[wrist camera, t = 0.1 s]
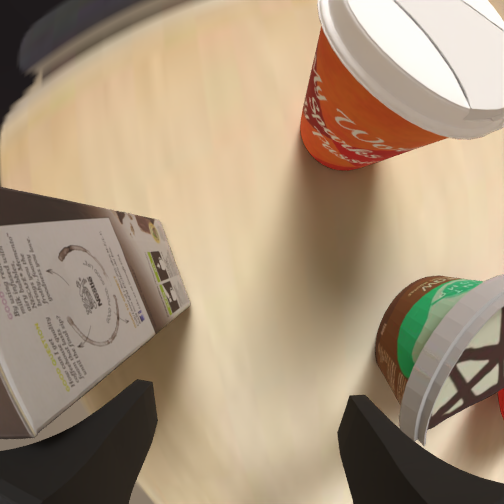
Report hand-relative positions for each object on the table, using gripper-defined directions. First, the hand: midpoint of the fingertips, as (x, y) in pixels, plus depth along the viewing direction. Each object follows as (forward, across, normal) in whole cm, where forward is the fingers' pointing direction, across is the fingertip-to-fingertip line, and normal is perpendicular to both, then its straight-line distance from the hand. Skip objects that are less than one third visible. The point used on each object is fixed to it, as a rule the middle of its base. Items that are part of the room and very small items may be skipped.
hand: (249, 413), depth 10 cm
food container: (+11, -12, 0) cm, 17 cm away
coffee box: (+11, +10, 0) cm, 14 cm away
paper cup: (+13, -5, -12) cm, 18 cm away
